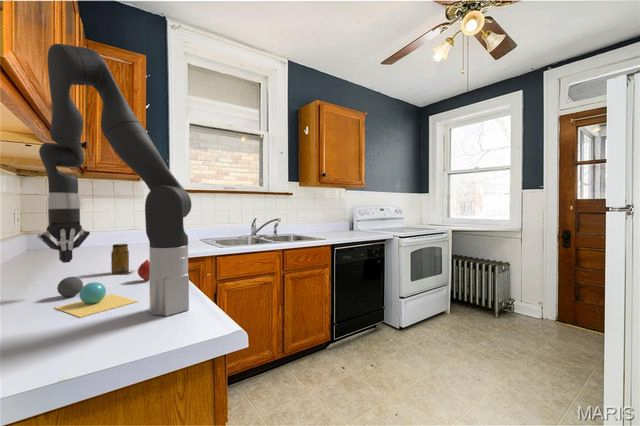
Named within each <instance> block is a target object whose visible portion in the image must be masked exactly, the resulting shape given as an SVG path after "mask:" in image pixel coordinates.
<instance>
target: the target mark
mask: <svg viewBox="0 0 640 426" xmlns="http://www.w3.org/2000/svg"><path fill="white" fill-rule="evenodd" d="M138 302H139V301H138V300H135V299H132V298H128V297H123V296H121V295H117V294H106V295H105V297H104V298H103V299H102V300H101V301H100V302H98V303H95V304H86V303H84V302H83V301H81V300H80V301H77V302H72V303H68V304H63V305H60V306H55V307H54V309H56V310H58V311H61V312H65V313H66V314H70V315H72V316H75V317H77V318H84V317H87V316H92V315H95V314H98V313H102V312H106V311H108V310H110V311H111V310H113V309H116V308H121V307H123V306H127V305H130V304H131V303H132V304H135V303H138ZM132 304H131V305H132Z"/></svg>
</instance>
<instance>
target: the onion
mask: <svg viewBox="0 0 640 426" xmlns="http://www.w3.org/2000/svg"><path fill="white" fill-rule="evenodd" d="M137 274H138V276H139V277H140V279H143V280H144V281H146V282H148V281H150V262H149V259H146V260H145V261H144V262H143V263H141V264H140V266H139V267H138V270H137Z"/></svg>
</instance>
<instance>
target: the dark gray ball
mask: <svg viewBox="0 0 640 426" xmlns="http://www.w3.org/2000/svg"><path fill="white" fill-rule="evenodd" d="M83 287H84V283H83V281H82V279H80V278H79V277H76V276H68V277H65V278H63V279H61V280H60V281H59V283H58V285H57V288H56V290H57V292H58V294H60V296H62V297H65V298H70V297H71V298H72V297H75V296H76V295H78V294H80V291H81V289H82V288H83Z"/></svg>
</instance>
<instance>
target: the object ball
mask: <svg viewBox="0 0 640 426" xmlns="http://www.w3.org/2000/svg"><path fill="white" fill-rule="evenodd" d="M78 294H79V295H78V296H79V299H80V301H83V302H84V303H86V304H95V303H98V302H100V301H101V300H102V299H103V298H104V297H105V296H106V295H107V289H106V286H105V285H104V284H103V283H101V282H89V283H87V284H84V285H83V288H82V289H81V291H80V293H78Z"/></svg>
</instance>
